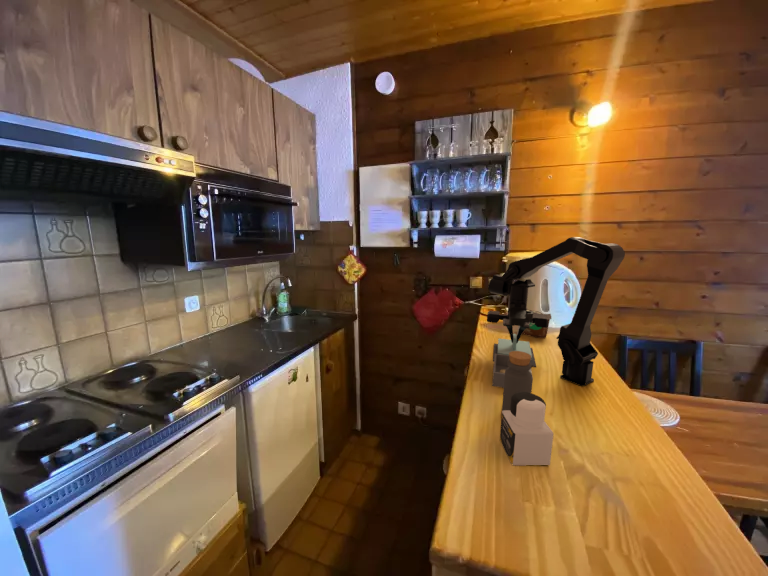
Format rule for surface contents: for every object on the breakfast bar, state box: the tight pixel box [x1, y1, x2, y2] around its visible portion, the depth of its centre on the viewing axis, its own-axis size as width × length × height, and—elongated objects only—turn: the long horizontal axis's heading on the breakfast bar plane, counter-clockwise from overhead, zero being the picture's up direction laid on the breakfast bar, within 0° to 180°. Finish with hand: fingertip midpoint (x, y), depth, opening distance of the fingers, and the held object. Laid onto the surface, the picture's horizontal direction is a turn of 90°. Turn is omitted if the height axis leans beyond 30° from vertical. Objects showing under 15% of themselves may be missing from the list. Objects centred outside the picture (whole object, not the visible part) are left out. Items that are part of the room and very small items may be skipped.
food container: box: [523, 308, 552, 339], centre depth 127 cm, size 12×6×10 cm, turn 25°
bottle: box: [501, 351, 533, 412], centre depth 73 cm, size 6×6×15 cm
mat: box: [492, 343, 537, 368], centre depth 108 cm, size 16×13×1 cm
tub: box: [491, 354, 534, 393], centre depth 92 cm, size 14×10×4 cm
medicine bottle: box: [499, 392, 554, 466], centre depth 61 cm, size 7×7×12 cm
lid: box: [497, 333, 532, 360], centre depth 108 cm, size 14×10×6 cm
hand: (514, 342), depth 107 cm, fingers closed on lid
